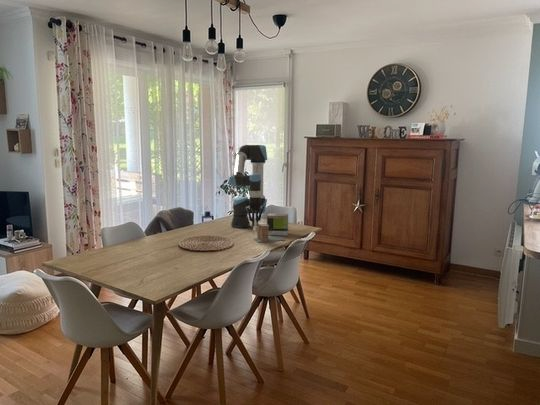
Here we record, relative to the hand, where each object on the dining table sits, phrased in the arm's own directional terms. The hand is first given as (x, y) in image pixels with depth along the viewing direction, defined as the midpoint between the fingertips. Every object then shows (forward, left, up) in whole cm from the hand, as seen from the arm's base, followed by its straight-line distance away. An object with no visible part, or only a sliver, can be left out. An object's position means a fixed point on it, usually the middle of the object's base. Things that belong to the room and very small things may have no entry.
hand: (254, 230), depth 271 cm
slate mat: (0, +11, -7) cm, 13 cm away
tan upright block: (0, +6, -7) cm, 9 cm away
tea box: (-14, +23, -8) cm, 28 cm away
